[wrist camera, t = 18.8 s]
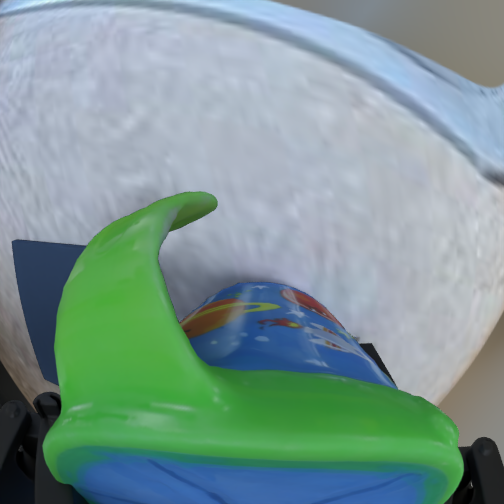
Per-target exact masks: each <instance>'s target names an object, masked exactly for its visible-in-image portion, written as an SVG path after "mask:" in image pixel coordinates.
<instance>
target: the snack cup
mask: <svg viewBox="0 0 504 504" xmlns="http://www.w3.org/2000/svg"><path fill="white" fill-rule="evenodd" d="M217 206H218V201H217V199H216V198H215V197H214V196H213V195H212V194H209V193H206V192H201V191H200V192H184V193H180V194H177V195H174V196H171V197H167V198H164V199H161V200H158V201H156V202H154V203H153V204H151V205H149V206H148V207H146V208H143V209H140V210H138V211H136V212H134V213H132V214H130V215H129V216H125V217H122V218H120V219H118V220H116V221H114V222H113V223H111V224H110V225H108V226H107V227H105V228H104V229H103V230H102V231H101V232H99V233H98V234H97V235H96V236H94V238H93V239H92V240H91V241H90V242H89V244H88V245H87V246H86V248H85V249H84V251H83V252H82V254H81V255H80V256H79V258H78V259H77V261H76V263H75V265H74V267H73V269H72V271H71V273H70V276H69V278H68V280H67V282H66V284H65V286H64V288H63V293H62V298H61V301H60V304H59V307H58V312H57V321H56V333H55V343H54V351H55V358H56V367H57V375H58V381H59V387H60V397H61V402H62V408H61V414H60V416H59V417H58V418H57V420H56V421H55V423H54V424H53V426H52V427H51V428H50V430H49V431H48V433H47V434H46V437H45V439H44V442H43V445H42V446H43V453H44V458H45V461H46V464H47V466H48V467H49V469H50V472H51V473H52V475H53V476H54V477H55V479H56V480H57V481H59V482H61V483H64V484H71V485H72V486H73V487H74V488H75V490H76V491H77V492H78V493H79V494H81V495H82V496H83V497H84V498H85V499H86V501H87V502H88V503H89V504H444V503H445V502H446V501H447V500H448V499H449V497H450V496H451V495H452V494H453V493H454V491H455V489H456V488H457V487H458V485H459V483H460V481H461V479H462V476H463V471H464V463H463V459H462V455H461V453H460V451H459V448H458V437H459V431H458V428H457V426H456V425H455V424H454V422H453V421H452V420H451V419H450V418H449V417H448V416H447V415H445V414H444V413H443V412H442V411H441V410H440V409H439V408H438V407H436V406H435V405H433V404H432V403H430V402H428V401H427V400H425V399H424V398H422V397H420V396H413V395H411V394H409V393H407V392H404V391H401V390H398V388H397V386H396V385H395V384H394V383H393V382H392V381H391V380H390V378H389V377H388V376H387V375H386V374H385V373H384V372H383V371H381V369H380V368H379V367H378V365H377V364H376V362H375V361H374V360H373V359H372V358H371V357H370V356H369V355H368V354H367V353H366V352H365V351H364V350H363V349H362V348H361V347H360V345H359V343H358V342H357V341H356V340H355V339H354V338H353V337H352V336H351V335H350V334H349V333H348V332H346V330H345V328H344V327H343V326H342V325H341V324H340V322H339V321H338V320H337V319H336V318H335V317H334V316H333V315H332V314H331V313H330V312H329V311H328V310H327V309H326V307H324V306H323V305H322V304H321V303H319V302H318V301H317V300H315V299H314V298H313V297H311V296H309V295H308V294H306V293H305V292H302V291H300V290H298V289H296V288H293V287H289V286H286V285H282V284H276V283H270V282H249V283H237V284H236V285H234V286H231V287H229V288H226V289H223V290H221V291H220V292H219V293H217V294H215V295H214V296H211V297H209V298H208V299H206V301H205V302H204V303H203V304H202V305H201V306H199V307H198V308H197V309H195V310H193V311H192V312H191V313H190V315H188V316H187V317H186V318H184V319H183V320H182V321H181V322H180V323H179V322H178V319H177V317H176V314H175V310H174V307H173V304H172V302H171V299H170V297H169V294H168V291H167V287H166V284H165V280H164V277H163V275H162V272H161V269H160V266H159V262H158V255H159V250H160V247H161V245H162V243H163V241H164V240H165V239H166V237H167V235H168V232H170V231H173V230H176V229H179V228H181V227H183V226H185V225H187V224H189V223H191V222H193V221H196V220H198V219H200V218H202V217H203V216H205V215H207V214H209V213H210V212H212V211H214V210H215V209H216V207H217Z"/></svg>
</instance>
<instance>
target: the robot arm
mask: <svg viewBox="0 0 504 504" xmlns="http://www.w3.org/2000/svg"><path fill="white" fill-rule="evenodd" d="M359 345H360V347H361V348H362V349H363V350H364V351H365V352H366V353H367V354H368V355H369V356H370V357H371V358H372V359H373V360H374V361H375V362H376V364H377V365H378V367H379V368H380V369H381V371H383V372H384V373H385V374H386V375H387V376H388V377H389V378H390V380H391V381H392V382H393V383H394V384H395V382H394V381H393V379H392V377H391V375H390V374H389V372H388V370H387V368H386V367H385V365H384V363H383V362H382V360H381V358H380V356H379V355H378V353H377V351H376V350H375V348H374V346H373V345H372V343H367V344H359ZM395 385H396V384H395ZM398 390H399V389H398ZM33 405H34V407H35V409H36V411H37V412H38V413H34V412H29V411H28V409H27V408H26V406H25V405H24V403H23V402H21V401H17V400H12V401H9V402H7V403H5V404H4V405H3V406H2V408H1V410H0V504H89V503H88V502H87V501H86V499H85V498H84V497H83V496H82V495H81V494H79V493H78V492H77V491H76V490H75V488H74V487H73V486H72V485H71V484H64V483H61V482H59V481H57V480H56V479H55V477H54V476H53V475H52V473H51V472H50V469H49V467H48V466H47V464H46V461H45V458H44V453H43V446H42V445H43V442H44V439H45V437H46V434H47V433H48V431H49V430H50V428H51V427H52V426H53V424H54V423H55V421H56V420H57V418H58V417H59V416H60V414H61V408H62V402H61V397H60V395H59V394H57V393H54V392H45V393H42V394H40V395H38V396H37V397H36V398H35V399H34V401H33ZM20 445H21V448H20V449H19V447H20ZM458 448H459V451H460V453H461V455H462V459H463V463H464V471H463V476H462V479H461V481H460V483H459V485H458V487H457V488H456V489H455V491H454V493H453V494H452V495H451V496H450V497H449V499H448V500H447V501H446V502H445V503H444V504H504V466H503V463H502V460H501V457H500V454H499V451H498V448H497V445H496V444H495V442H494V441H493V440H491V439H490V438H487V437H481V438H478V439H477V440H476V441H475V442H474V443H473V444H472V445H471V446H469V447H458ZM471 482H472V486H473V488H472V486H471Z"/></svg>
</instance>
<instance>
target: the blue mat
mask: <svg viewBox="0 0 504 504" xmlns="http://www.w3.org/2000/svg"><path fill="white" fill-rule="evenodd" d="M85 248H86V246H82V245H71V244H60V243H49V242H38V241H27V240H14V241H12V249H13V258H14V265H15V272H16V278H17V284H18V290H19V295H20V300H21V304H22V309H23V313H24V317H25V321H26V325H27V328H28V332H29V336H30V339H31V342H32V346H33V349H34V352H35V355H36V358H37V361H38V364H39V366H40V369H41V372H42V374H43V377H44V379H45V380H47V381H50V382H52V383H54V384H56V385H58V386H59V381H58V375H57V367H56V358H55V351H54V343H55V333H56V321H57V312H58V307H59V304H60V301H61V298H62V293H63V288H64V286H65V284H66V282H67V280H68V278H69V276H70V273H71V271H72V269H73V267H74V265H75V263H76V261H77V259H78V258H79V256H80V255H81V254H82V252H83V251H84V249H85Z"/></svg>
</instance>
